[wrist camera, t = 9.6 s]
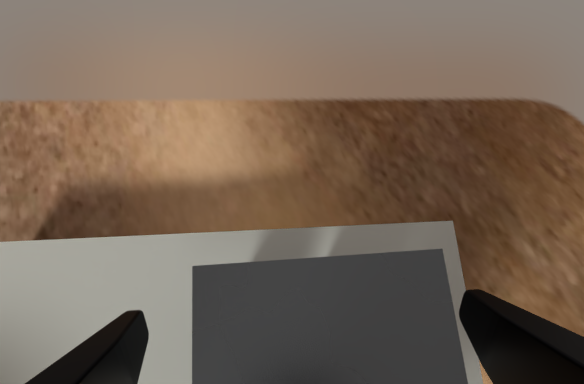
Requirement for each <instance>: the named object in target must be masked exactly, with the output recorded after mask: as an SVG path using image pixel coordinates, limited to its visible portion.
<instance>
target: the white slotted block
mask: <svg viewBox="0 0 584 384" xmlns="http://www.w3.org/2000/svg"><path fill="white" fill-rule="evenodd" d="M429 249H443V254H444V260H445V265H446V270H447V275H448V281H449V286H450V291H451V296H452V302H453V307H454V312H455V317H456V322H457V328H458V333H459V338H460V343H461V349H462V354H463V359H464V364H465V370H466V375H467V380H468V384H483V381H482V375H481V370H480V364H479V359H478V356H477V354H476V352H475V350H474V348H473V346H472V344H471V342H470V340H469V338H468V336H467V334H466V332H465V329H464V327H463V325H462V323H461V321H460V318H459V308H460V305H461V301H462V298H463V294H464V292H465V291H466V289H465V284H464V278H463V273H462V267H461V262H460V257H459V251H458V246H457V240H456V235H455V230H454V224H453V221H436V222H415V223H394V224H373V225H352V226H330V227H309V228H288V229H267V230H246V231H224V232H203V233H182V234H161V235H140V236H118V237H97V238H76V239H55V240H34V241H12V242H0V384H25V383H26V382H28V381H29V380H30V379H32V378H33V377H35V376H36V375H37V374H39V373H40V372H42V371H43V370H44V369H46V368H47V367H49V366H50V365H51V364H53V363H54V362H56V361H57V360H58V359H60V358H61V357H63V356H64V355H65V354H67V353H68V352H70V351H71V350H72V349H74V348H75V347H76V346H78V345H79V344H81V343H82V342H83V341H85V340H86V339H88V338H89V337H90V336H92V335H93V334H95V333H96V332H97V331H99V330H100V329H102V328H103V327H104V326H106V325H107V324H109V323H110V322H111V321H113V320H114V319H116V318H117V317H118V316H120V315H121V314H123V313H124V312H126V311H128V310H141V311H143V313H144V317H145V320H146V324H147V327H148V331H149V339H148V344H147V348H146V352H145V356H144V360H143V364H142V368H141V372H140V376H139V380H138V384H192V266H200V265H214V264H228V263H243V262H257V261H271V260H286V259H300V258H314V257H329V256H343V255H357V254H371V253H386V252H400V251H414V250H429Z"/></svg>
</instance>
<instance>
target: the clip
mask: <svg viewBox="0 0 584 384" xmlns="http://www.w3.org/2000/svg"><path fill="white" fill-rule="evenodd" d="M192 384H468V380H467V375H466V370H465V364H464V359H463V354H462V349H461V343H460V338H459V333H458V328H457V322H456V317H455V312H454V307H453V302H452V296H451V291H450V286H449V281H448V275H447V270H446V265H445V260H444V254H443V249H429V250H414V251H400V252H386V253H371V254H357V255H343V256H329V257H314V258H300V259H286V260H271V261H257V262H243V263H228V264H214V265H200V266H192Z"/></svg>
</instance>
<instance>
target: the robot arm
mask: <svg viewBox="0 0 584 384" xmlns="http://www.w3.org/2000/svg"><path fill="white" fill-rule="evenodd" d="M459 318H460V321H461V323H462V325H463V327H464V329H465V332H466V334H467V336H468V338H469V340H470V342H471V344H472V346H473V348H474V350H475V352H476V354H477V356H478V358H479V360H480V362H481V364H482V366H483V368H484V369H485V371H486V373H487V374H488V376H489V378H490V379H491V381H492V382H493V384H584V337H583V336H580V335H578V334H576V333H574V332H572V331H570V330H567V329H565V328H563V327H561V326H559V325H556V324H554V323H552V322H550V321H548V320H546V319H543V318H541V317H539V316H537V315H535V314H532V313H530V312H528V311H526V310H524V309H522V308H519V307H517V306H515V305H513V304H511V303H509V302H506V301H504V300H502V299H500V298H498V297H495V296H493V295H491V294H489V293H487V292H485V291H482V290H479V289H474V290H466V291H465V292H464V294H463V298H462V301H461V305H460V308H459ZM148 339H149V331H148V327H147V324H146V320H145V317H144V313H143V311H141V310H128V311H126V312H124V313H123V314H121V315H120V316H118V317H117V318H116V319H114V320H113V321H111V322H110V323H109V324H107V325H106V326H104V327H103V328H102V329H100V330H99V331H97V332H96V333H95V334H93V335H92V336H90V337H89V338H88V339H86V340H85V341H83V342H82V343H81V344H79V345H78V346H76V347H75V348H74V349H72V350H71V351H70V352H68V353H67V354H65V355H64V356H63V357H61V358H60V359H58V360H57V361H56V362H54V363H53V364H51V365H50V366H49V367H47V368H46V369H44V370H43V371H42V372H40V373H39V374H37V375H36V376H35V377H33V378H32V379H30V380H29V381H28V382H26V383H25V384H138V380H139V376H140V372H141V368H142V364H143V360H144V356H145V352H146V348H147V344H148Z"/></svg>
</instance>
